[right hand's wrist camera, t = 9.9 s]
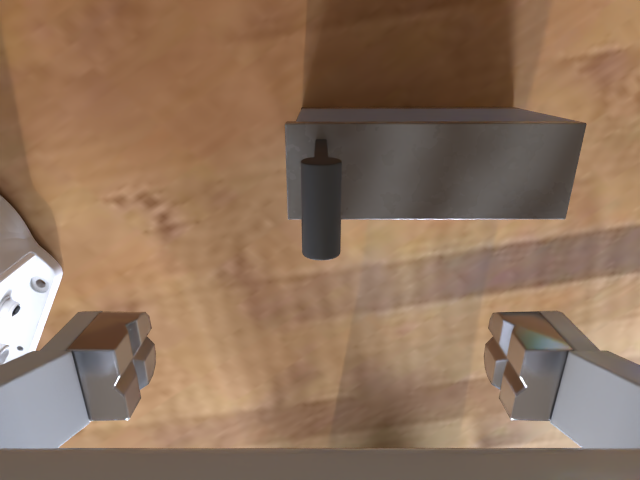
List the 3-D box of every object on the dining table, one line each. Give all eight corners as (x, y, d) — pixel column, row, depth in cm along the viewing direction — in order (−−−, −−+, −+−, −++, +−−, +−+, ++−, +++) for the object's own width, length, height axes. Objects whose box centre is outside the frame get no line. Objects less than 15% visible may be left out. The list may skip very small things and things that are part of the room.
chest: (302, 180, 37) (297, 214, 28) (301, 107, 34) (295, 121, 26) (502, 180, 37) (557, 214, 28) (514, 107, 34) (577, 120, 26)
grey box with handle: (289, 214, 28) (275, 275, 20) (286, 121, 26) (269, 147, 18) (557, 214, 28) (654, 275, 20) (577, 120, 26) (695, 146, 18)
